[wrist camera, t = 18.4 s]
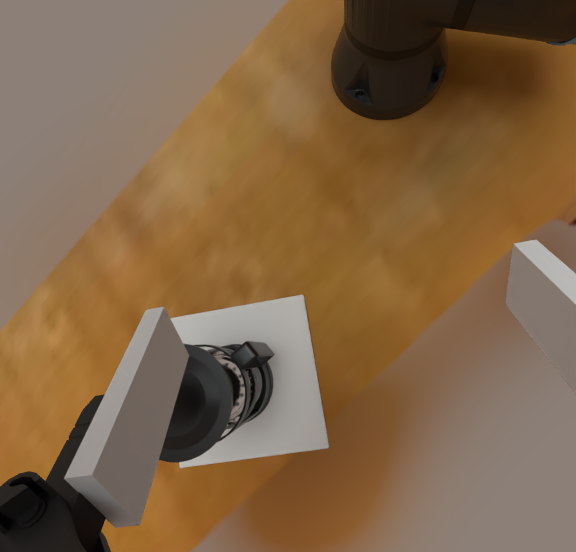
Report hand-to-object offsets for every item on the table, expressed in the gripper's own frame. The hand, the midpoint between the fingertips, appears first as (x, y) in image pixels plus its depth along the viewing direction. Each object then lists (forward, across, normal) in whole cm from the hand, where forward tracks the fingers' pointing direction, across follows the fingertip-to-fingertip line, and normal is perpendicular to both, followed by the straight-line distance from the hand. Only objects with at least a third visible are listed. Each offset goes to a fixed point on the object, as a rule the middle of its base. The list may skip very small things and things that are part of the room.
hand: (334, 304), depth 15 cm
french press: (+20, -13, -25) cm, 35 cm away
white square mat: (+20, -13, -26) cm, 35 cm away
